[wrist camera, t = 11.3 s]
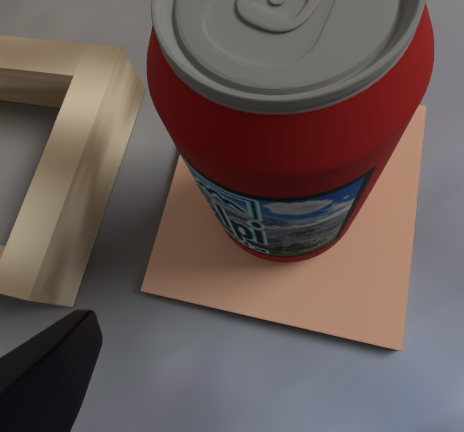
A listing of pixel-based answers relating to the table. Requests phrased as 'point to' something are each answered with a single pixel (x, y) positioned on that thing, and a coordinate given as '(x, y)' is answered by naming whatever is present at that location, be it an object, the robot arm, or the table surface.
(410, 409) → the table surface
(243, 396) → the table surface
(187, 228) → the mat
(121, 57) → the holder
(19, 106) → the table surface
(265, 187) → the beverage can
